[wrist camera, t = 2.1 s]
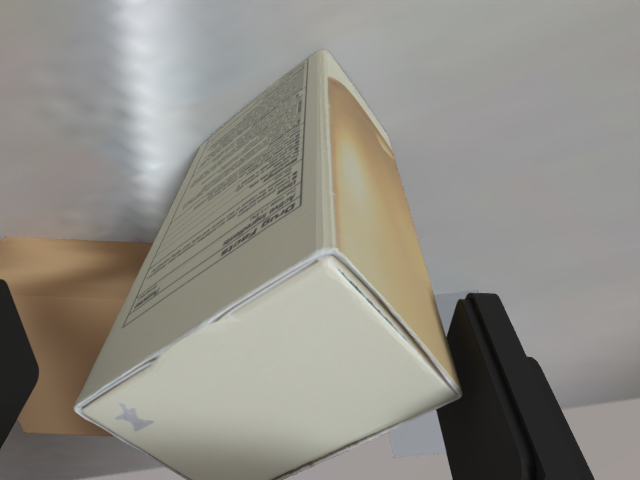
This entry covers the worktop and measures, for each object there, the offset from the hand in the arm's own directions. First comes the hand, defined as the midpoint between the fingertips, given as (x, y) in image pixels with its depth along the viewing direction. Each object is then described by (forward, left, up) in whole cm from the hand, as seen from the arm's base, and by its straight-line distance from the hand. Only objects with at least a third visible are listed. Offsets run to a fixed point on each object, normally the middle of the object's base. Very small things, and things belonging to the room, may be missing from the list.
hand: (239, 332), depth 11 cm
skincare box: (-1, 0, -10) cm, 10 cm away
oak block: (+7, +10, -11) cm, 16 cm away
